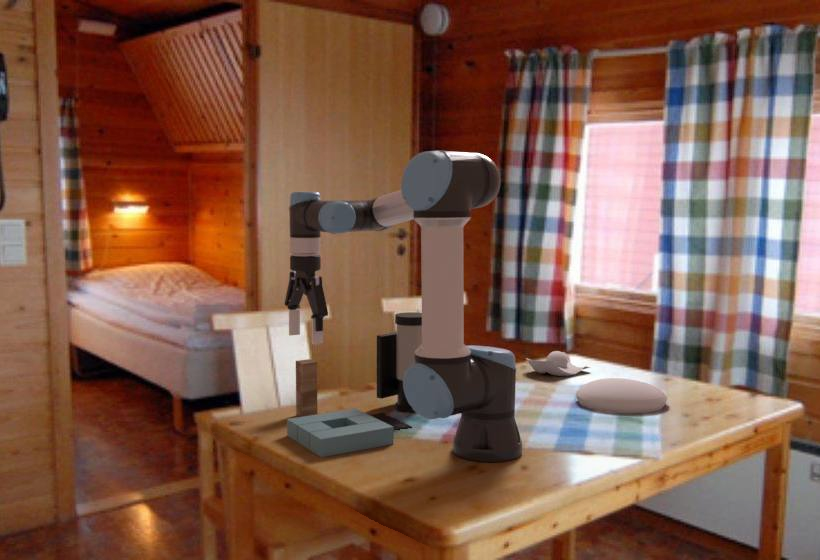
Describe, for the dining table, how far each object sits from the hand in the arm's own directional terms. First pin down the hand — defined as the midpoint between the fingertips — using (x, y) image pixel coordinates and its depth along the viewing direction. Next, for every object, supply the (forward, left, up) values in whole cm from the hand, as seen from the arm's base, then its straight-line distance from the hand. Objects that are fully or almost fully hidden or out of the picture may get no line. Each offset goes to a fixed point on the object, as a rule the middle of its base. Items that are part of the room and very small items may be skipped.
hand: (305, 339), depth 210 cm
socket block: (-22, +2, -20) cm, 30 cm away
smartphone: (-15, -14, -20) cm, 29 cm away
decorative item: (-32, -77, -20) cm, 86 cm away
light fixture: (-6, -26, -20) cm, 33 cm away
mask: (+5, -87, -20) cm, 90 cm away
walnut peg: (0, 0, -20) cm, 20 cm away
